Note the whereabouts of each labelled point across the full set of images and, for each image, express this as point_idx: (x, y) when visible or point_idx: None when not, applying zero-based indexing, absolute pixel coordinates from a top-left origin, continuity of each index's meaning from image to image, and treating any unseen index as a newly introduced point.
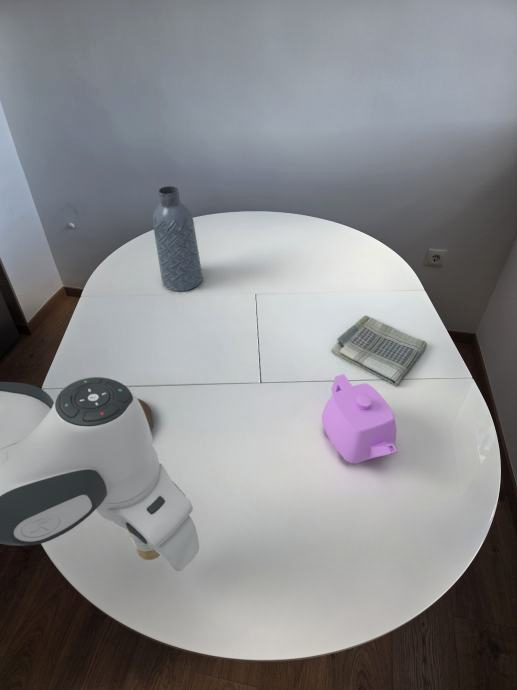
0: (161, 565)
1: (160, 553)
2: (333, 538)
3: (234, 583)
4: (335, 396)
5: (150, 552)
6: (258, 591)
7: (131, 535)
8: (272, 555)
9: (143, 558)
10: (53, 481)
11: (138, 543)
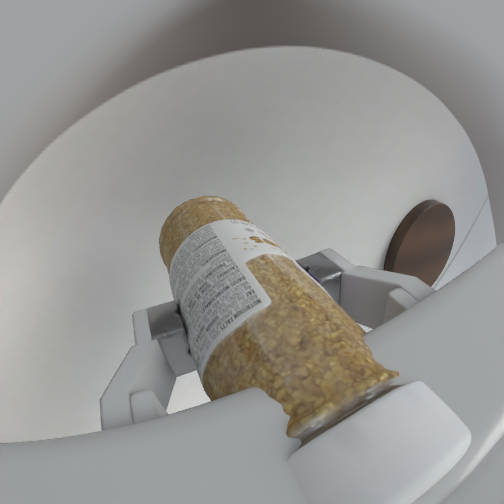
0: (175, 200)
1: (10, 498)
2: (75, 426)
3: (65, 305)
4: None
5: (170, 249)
6: (39, 329)
7: (255, 294)
8: (83, 369)
9: (182, 205)
10: None
11: (208, 266)
